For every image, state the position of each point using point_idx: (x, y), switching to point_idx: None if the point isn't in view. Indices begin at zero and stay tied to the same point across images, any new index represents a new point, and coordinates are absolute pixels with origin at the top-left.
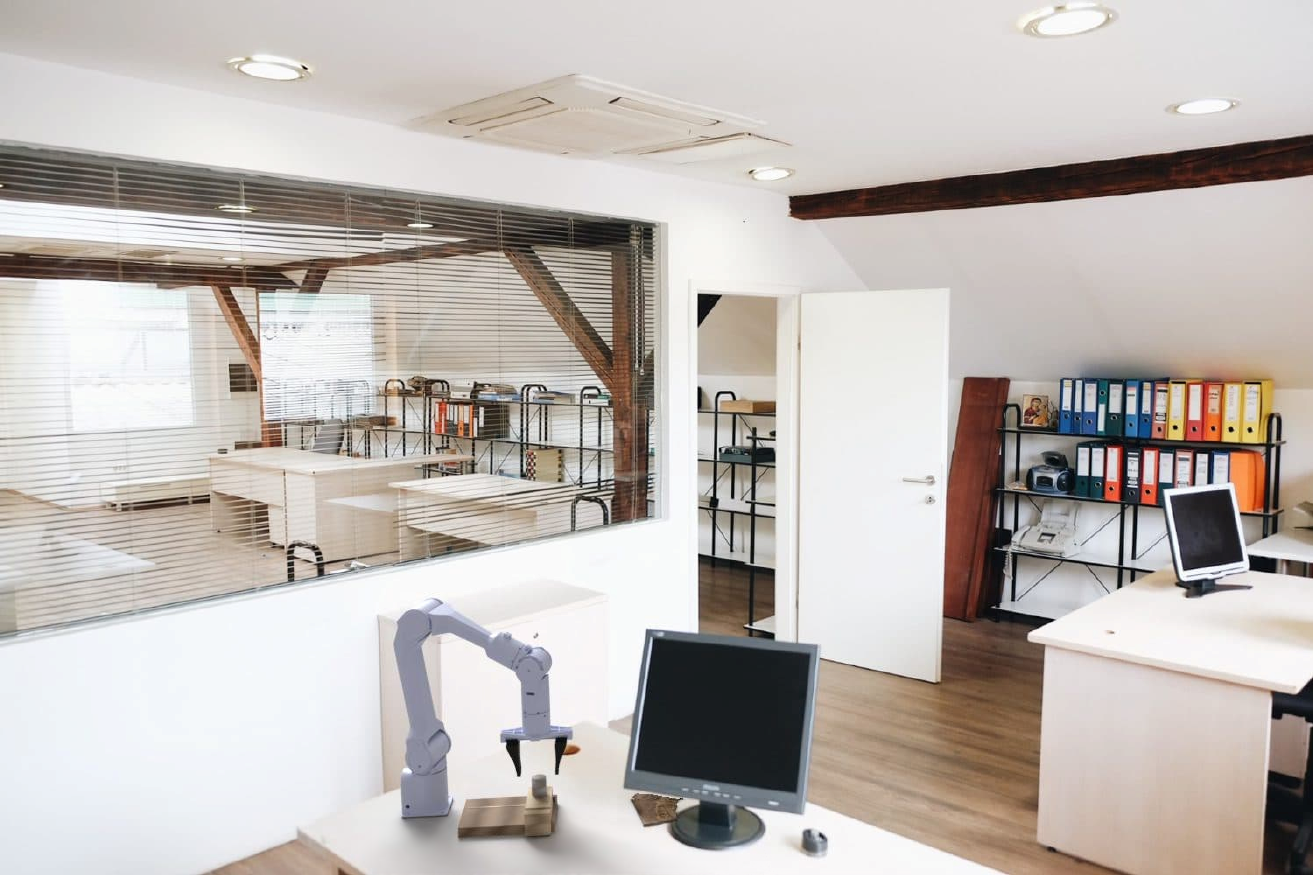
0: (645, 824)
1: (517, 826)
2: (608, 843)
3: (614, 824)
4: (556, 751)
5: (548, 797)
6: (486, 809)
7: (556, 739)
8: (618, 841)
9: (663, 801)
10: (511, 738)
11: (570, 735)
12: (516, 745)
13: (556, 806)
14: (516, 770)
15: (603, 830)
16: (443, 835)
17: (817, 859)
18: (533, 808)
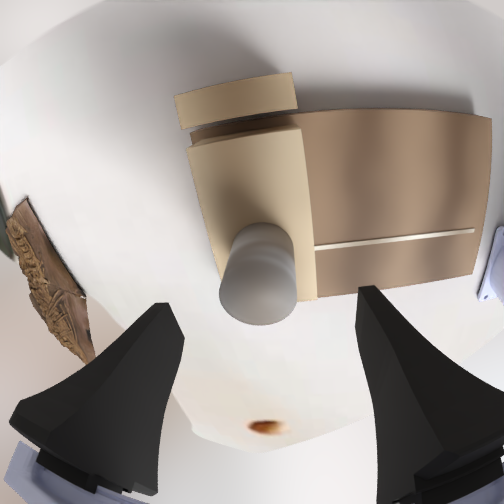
0: (25, 199)
1: (324, 111)
2: (58, 108)
3: (71, 195)
4: (75, 401)
5: (219, 228)
6: (434, 221)
7: (84, 480)
8: (45, 123)
9: (41, 284)
10: (459, 502)
11: (16, 462)
12: (437, 473)
13: None
14: (390, 304)
15: (81, 163)
16: (500, 134)
17: None
18: (262, 133)
